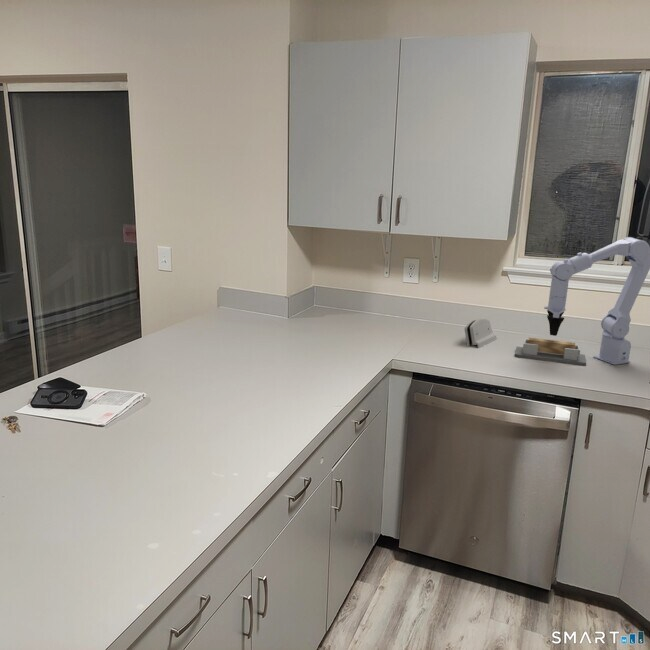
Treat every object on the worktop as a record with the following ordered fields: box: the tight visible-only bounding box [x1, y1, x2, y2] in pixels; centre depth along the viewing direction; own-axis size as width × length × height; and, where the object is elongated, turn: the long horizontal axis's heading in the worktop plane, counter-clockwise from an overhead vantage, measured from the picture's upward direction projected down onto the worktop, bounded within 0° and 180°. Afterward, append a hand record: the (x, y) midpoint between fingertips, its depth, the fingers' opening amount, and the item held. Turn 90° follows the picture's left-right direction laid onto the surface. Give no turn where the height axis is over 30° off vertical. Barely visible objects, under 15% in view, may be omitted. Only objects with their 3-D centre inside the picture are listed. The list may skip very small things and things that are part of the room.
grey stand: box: [464, 318, 498, 349], centre depth 230 cm, size 17×5×10 cm, turn 140°
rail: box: [527, 337, 576, 355], centre depth 214 cm, size 16×3×4 cm, turn 70°
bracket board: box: [514, 338, 587, 367], centre depth 214 cm, size 24×10×5 cm, turn 70°
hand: (553, 332), depth 212 cm, fingers open, 7 cm apart
